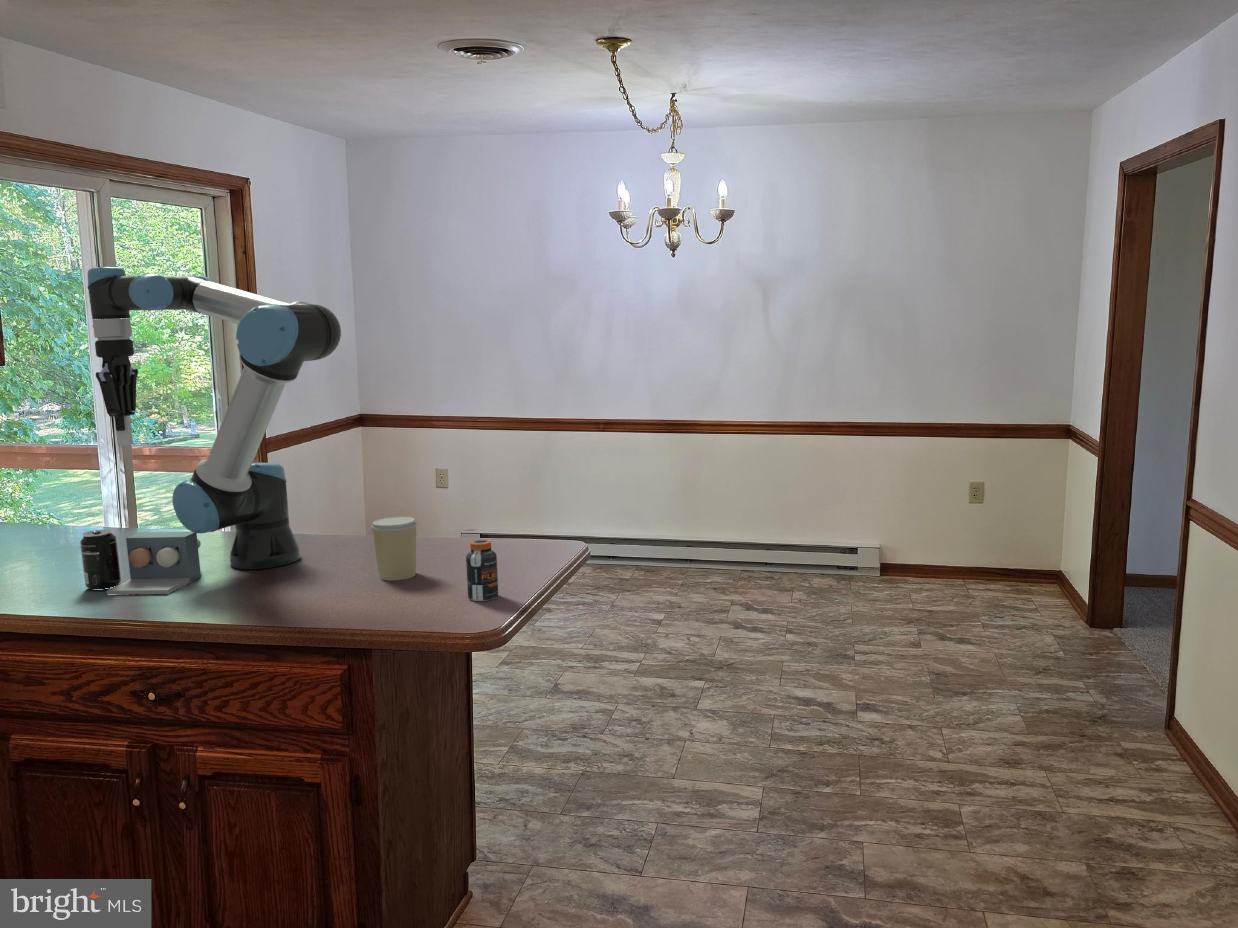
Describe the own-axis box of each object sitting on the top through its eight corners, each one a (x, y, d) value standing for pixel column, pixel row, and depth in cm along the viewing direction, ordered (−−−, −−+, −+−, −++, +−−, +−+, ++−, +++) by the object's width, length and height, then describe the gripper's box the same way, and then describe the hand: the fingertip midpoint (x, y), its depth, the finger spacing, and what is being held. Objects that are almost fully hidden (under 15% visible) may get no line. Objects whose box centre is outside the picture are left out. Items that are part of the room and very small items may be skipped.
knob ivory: (204, 551, 220) (203, 534, 220) (175, 567, 207) (173, 548, 207) (187, 552, 221) (185, 534, 220) (157, 567, 208) (155, 549, 207)
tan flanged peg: (179, 552, 221) (177, 535, 220) (148, 567, 208) (146, 549, 207) (161, 552, 221) (160, 535, 220) (130, 567, 208) (127, 549, 208)
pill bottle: (485, 603, 188) (482, 546, 186) (461, 599, 191) (458, 542, 189) (504, 595, 193) (501, 539, 191) (481, 591, 196) (478, 536, 194)
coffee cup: (428, 571, 212) (425, 517, 211) (401, 583, 204) (398, 526, 202) (393, 568, 216) (389, 515, 215) (366, 579, 208) (361, 524, 206)
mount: (200, 576, 215) (196, 531, 214) (168, 594, 201) (162, 547, 200) (143, 576, 216) (138, 532, 214) (107, 595, 202) (101, 548, 201)
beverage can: (115, 581, 213) (109, 527, 211) (126, 586, 208) (120, 531, 207) (81, 588, 209) (74, 533, 207) (91, 593, 204) (84, 537, 202)
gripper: (114, 338, 223) (125, 441, 226) (79, 340, 210) (92, 449, 214) (145, 337, 222) (157, 440, 226) (113, 339, 209) (125, 448, 213)
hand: (125, 444), depth 220 cm, fingers closed
